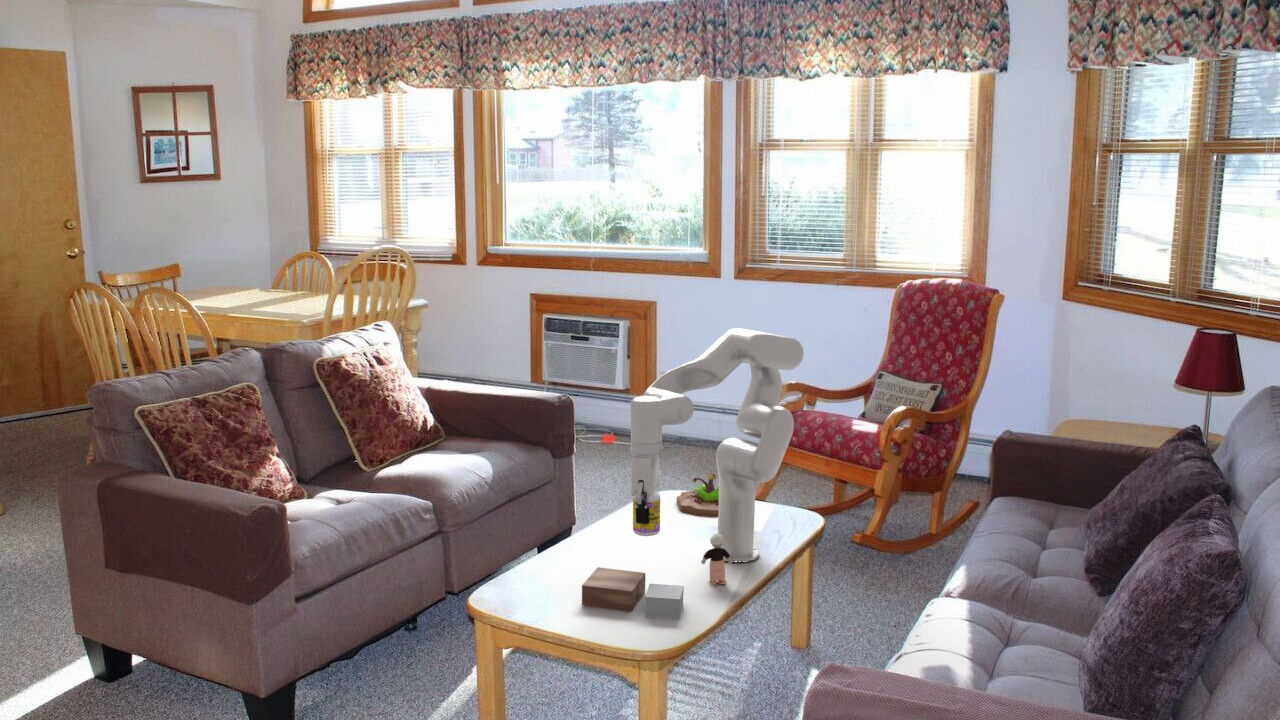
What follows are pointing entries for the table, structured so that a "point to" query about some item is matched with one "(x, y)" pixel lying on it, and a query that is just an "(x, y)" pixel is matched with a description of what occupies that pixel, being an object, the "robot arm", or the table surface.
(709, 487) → the plant
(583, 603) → the walnut block
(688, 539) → the table surface
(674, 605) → the grey block
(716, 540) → the grandmother figurine
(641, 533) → the supplement bottle
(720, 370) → the robot arm
